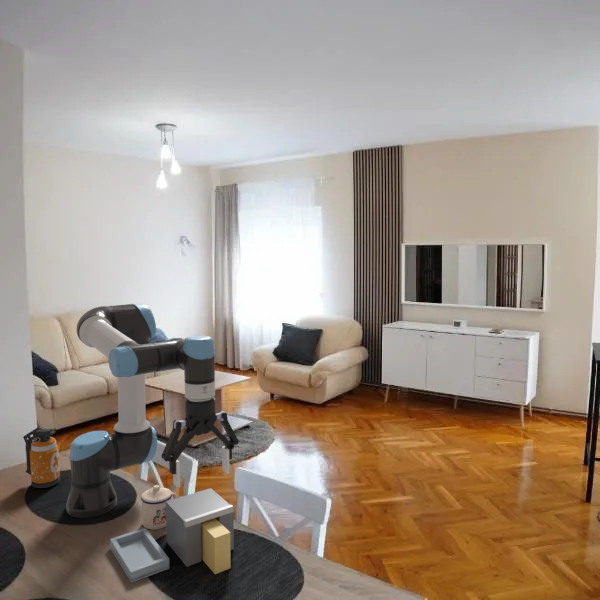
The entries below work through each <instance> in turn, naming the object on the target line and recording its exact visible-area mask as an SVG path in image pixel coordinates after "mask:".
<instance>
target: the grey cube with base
mask: <svg viewBox="0 0 600 600" xmlns="http://www.w3.org/2000/svg"><path fill="white" fill-rule="evenodd" d="M234 516H235V515H234V505H232V504H230V503H228V502H227V500H225V499H224V498H223V497H222V496H221V495H219V494H218V493H217V492H216V491H215V490H213V488H211V487H210V488H207V489H203V490H200V491H197V492H193V493H189V494H186V495H183V496H180V497H177V498H176V499H172V498H171V500H169V501H166V527H165V529H166V530H165V531H166V532H165V533H166V535H165V536H166V543H167V545H168V546H169V547H170V548H171V549H172V551H174V553H175V554H176V556H177V557H178V558H179V559H180V560H181V562H182V563H183V564H184V565H185V567H191V566H192V565H195V564H199V563H201V562H202V561H203V560H202V555H201V522H204V521H207V520H210V519H213V518H216V519H217V520H218V521H219V522H220V523H221V524H222V525H223V526H224V527H225V528H226V529H227V530H228V531H229V532H230V551H232V550H234V549H235V548H234V547H235V546H234V545H235V544H234V543H235V542H234V541H235V540H234V538H235V537H234V536H235V535H234V530H235V529H234V528H235V527H234V525H235V524H234V520H235V519H234V518H235V517H234Z"/></svg>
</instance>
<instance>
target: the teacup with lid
mask: <svg viewBox="0 0 600 600" xmlns="http://www.w3.org/2000/svg"><path fill="white" fill-rule="evenodd" d="M172 497H173V499H176V498H178V495H177V494H176V493H175V492H172V490H170V489H169V488H168V487H167V488H166V487H161V486H160V485H159V484H156V485H153V486H152V488H149V489H147V490H145V491H143V493H142V494H141V497H140V501H141V512H142V513H141V515H142V516H141V518H142V520H141V521H142V526H143V528H146V529H147V530H152V531H153V530H154V531H155V530H156V531H157V530H161V529H165V528H166V501H169V500H172Z"/></svg>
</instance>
